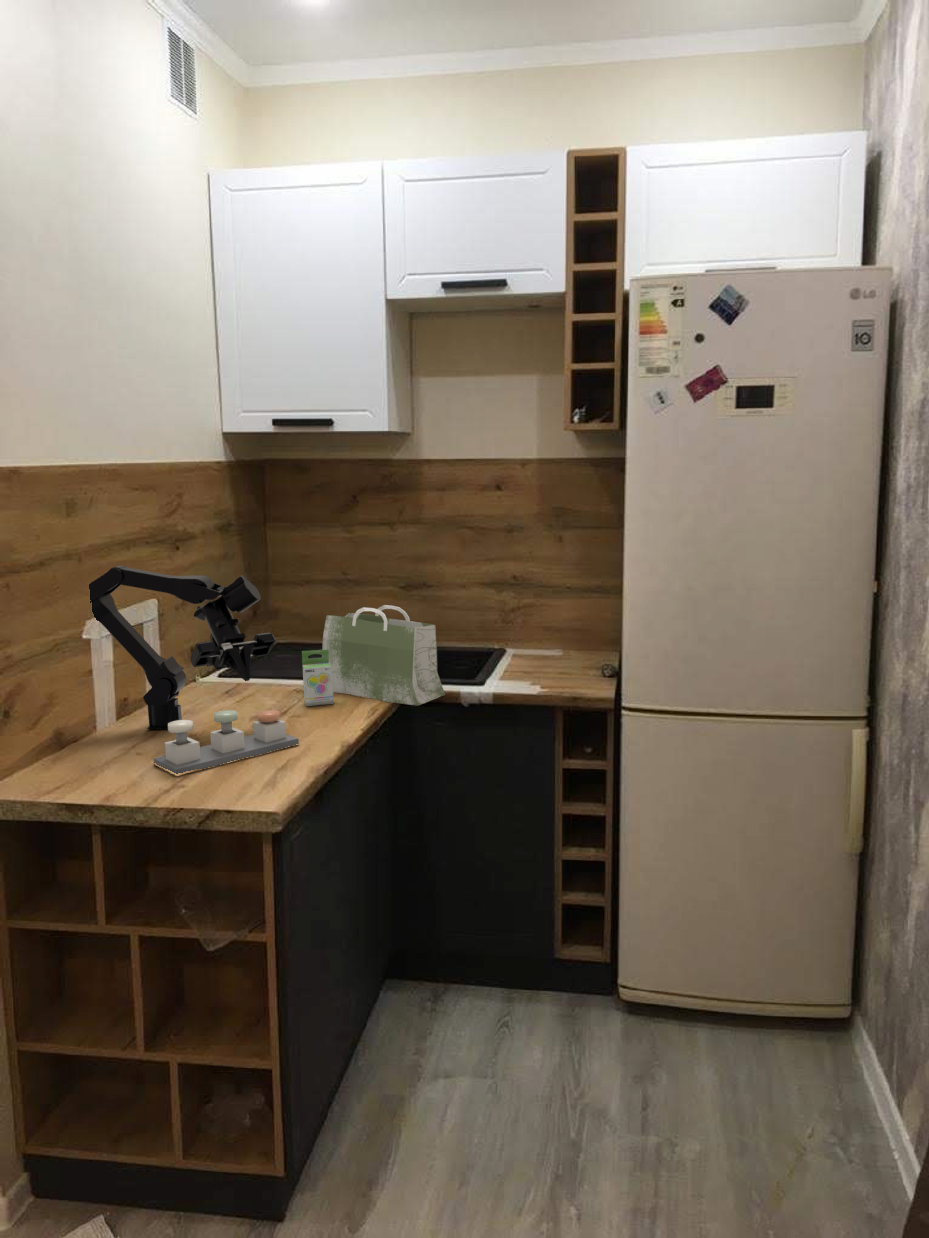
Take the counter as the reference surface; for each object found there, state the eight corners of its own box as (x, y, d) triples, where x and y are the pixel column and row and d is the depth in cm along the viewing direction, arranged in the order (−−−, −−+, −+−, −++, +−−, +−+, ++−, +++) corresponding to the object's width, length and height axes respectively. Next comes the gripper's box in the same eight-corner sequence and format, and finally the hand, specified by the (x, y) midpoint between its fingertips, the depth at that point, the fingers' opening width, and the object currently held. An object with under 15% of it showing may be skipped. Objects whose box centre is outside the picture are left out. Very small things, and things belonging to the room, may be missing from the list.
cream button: (165, 745, 189) (163, 723, 188) (187, 740, 192) (186, 718, 192) (176, 750, 186) (174, 727, 185) (198, 745, 189) (196, 722, 188)
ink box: (305, 706, 233) (302, 654, 231) (304, 703, 237) (301, 651, 235) (333, 704, 235) (331, 651, 233) (331, 700, 239) (329, 648, 236)
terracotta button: (254, 733, 203) (253, 713, 202) (273, 729, 206) (272, 708, 205) (265, 738, 199) (264, 717, 199) (285, 733, 202) (284, 712, 202)
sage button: (211, 734, 196) (209, 713, 195) (231, 729, 199) (230, 708, 198) (222, 739, 192) (220, 717, 192) (243, 734, 196) (241, 713, 195)
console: (154, 765, 191) (152, 741, 190) (274, 735, 209) (272, 713, 209) (176, 776, 184) (174, 752, 183) (298, 745, 202) (297, 722, 201)
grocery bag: (448, 694, 243) (445, 605, 239) (416, 706, 231) (413, 613, 227) (352, 680, 260) (348, 597, 256) (318, 691, 249) (314, 605, 245)
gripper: (248, 639, 224) (273, 693, 218) (173, 650, 212) (198, 707, 206) (263, 610, 217) (289, 665, 210) (186, 620, 205) (212, 679, 198)
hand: (247, 680), depth 206 cm, fingers closed
